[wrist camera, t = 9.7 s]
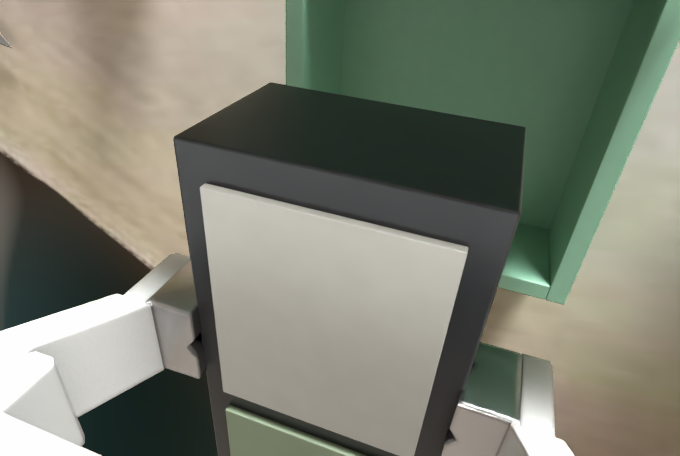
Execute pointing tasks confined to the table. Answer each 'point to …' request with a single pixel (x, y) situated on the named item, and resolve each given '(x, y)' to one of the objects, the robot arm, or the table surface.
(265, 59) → the table surface
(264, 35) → the table surface
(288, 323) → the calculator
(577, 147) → the green box
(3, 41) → the utility knife
